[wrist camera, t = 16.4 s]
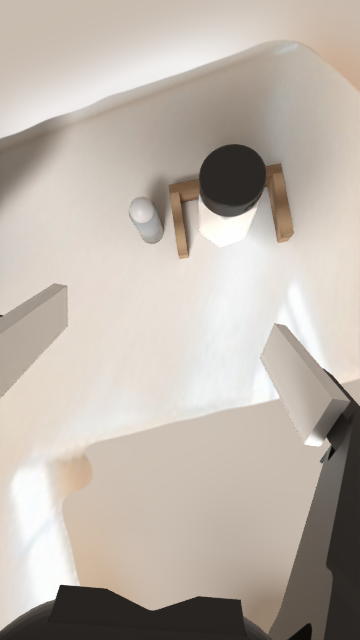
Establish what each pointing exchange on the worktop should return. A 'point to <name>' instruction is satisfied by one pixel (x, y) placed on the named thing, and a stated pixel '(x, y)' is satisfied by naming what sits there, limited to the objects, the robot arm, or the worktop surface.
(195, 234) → the worktop surface
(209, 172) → the jar
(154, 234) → the shaker
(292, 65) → the worktop surface
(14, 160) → the worktop surface
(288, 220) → the dock
